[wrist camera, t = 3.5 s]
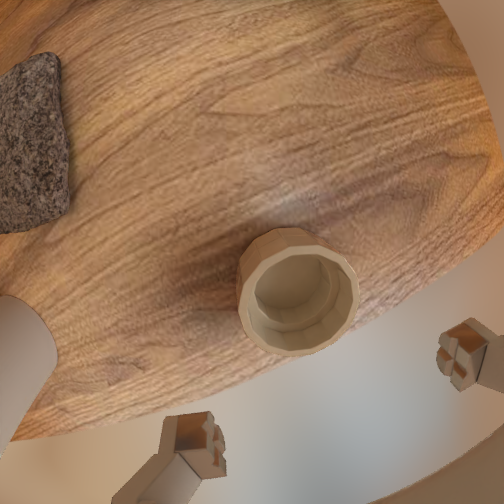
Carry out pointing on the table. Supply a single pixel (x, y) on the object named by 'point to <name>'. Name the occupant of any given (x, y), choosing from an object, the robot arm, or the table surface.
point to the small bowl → (295, 292)
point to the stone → (32, 145)
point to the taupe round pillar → (21, 362)
